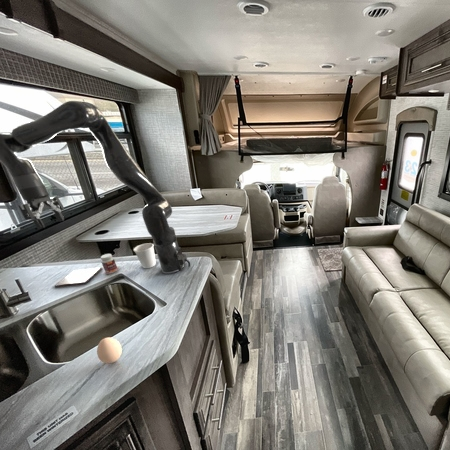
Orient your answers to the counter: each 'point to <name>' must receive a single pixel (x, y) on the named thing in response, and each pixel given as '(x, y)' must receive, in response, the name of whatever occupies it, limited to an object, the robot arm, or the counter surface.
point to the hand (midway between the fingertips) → (52, 224)
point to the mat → (78, 277)
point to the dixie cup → (146, 255)
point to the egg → (109, 350)
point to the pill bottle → (108, 263)
